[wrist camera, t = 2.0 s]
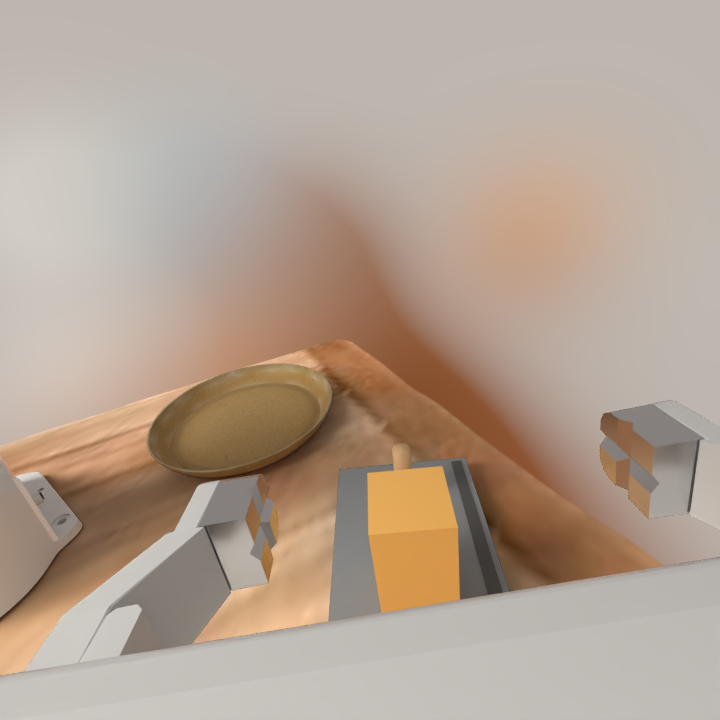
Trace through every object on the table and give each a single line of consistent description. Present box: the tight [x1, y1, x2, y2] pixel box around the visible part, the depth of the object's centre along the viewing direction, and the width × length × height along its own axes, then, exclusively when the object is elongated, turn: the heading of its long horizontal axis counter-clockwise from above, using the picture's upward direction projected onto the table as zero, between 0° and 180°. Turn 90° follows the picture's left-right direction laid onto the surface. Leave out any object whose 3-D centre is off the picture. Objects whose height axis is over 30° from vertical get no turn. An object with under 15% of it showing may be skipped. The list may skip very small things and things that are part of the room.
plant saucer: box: [147, 364, 332, 477], centre depth 56 cm, size 24×24×3 cm
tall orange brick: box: [367, 466, 460, 613], centre depth 28 cm, size 5×5×10 cm
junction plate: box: [328, 443, 510, 622], centre depth 33 cm, size 19×13×8 cm
